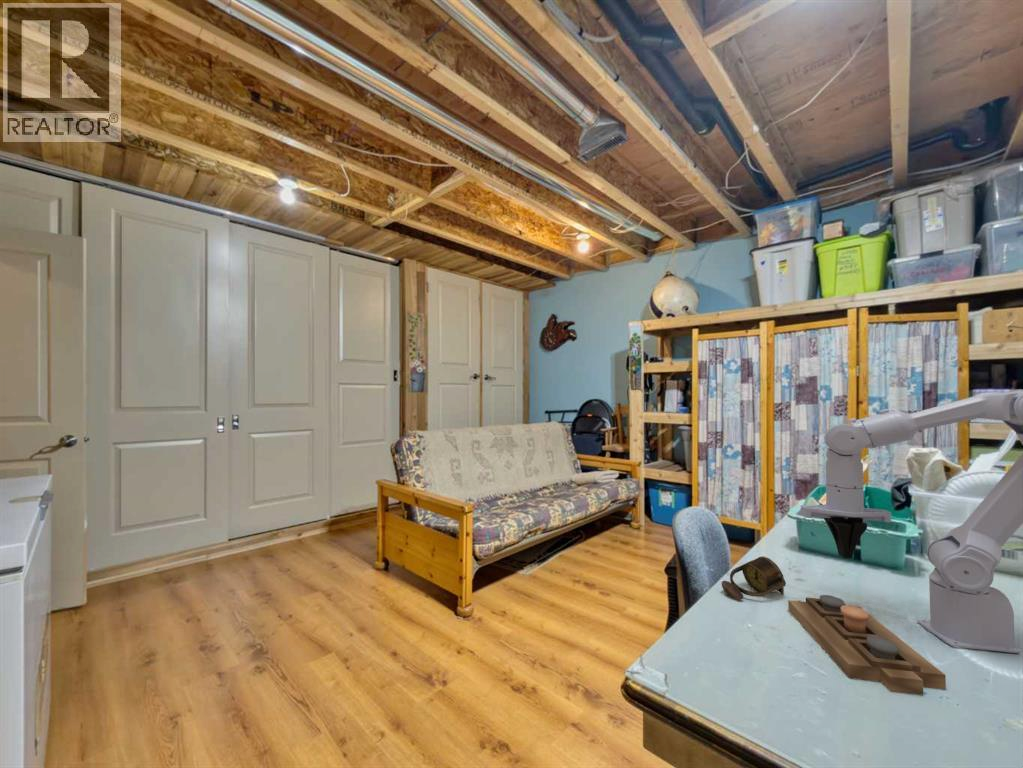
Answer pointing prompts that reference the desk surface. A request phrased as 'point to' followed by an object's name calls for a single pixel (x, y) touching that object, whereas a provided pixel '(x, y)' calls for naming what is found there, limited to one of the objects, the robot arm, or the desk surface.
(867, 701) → the desk surface
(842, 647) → the walnut test board
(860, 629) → the terracotta plug
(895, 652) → the grey plug near
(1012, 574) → the desk surface
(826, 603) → the grey plug far
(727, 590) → the brown watering can
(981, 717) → the desk surface
